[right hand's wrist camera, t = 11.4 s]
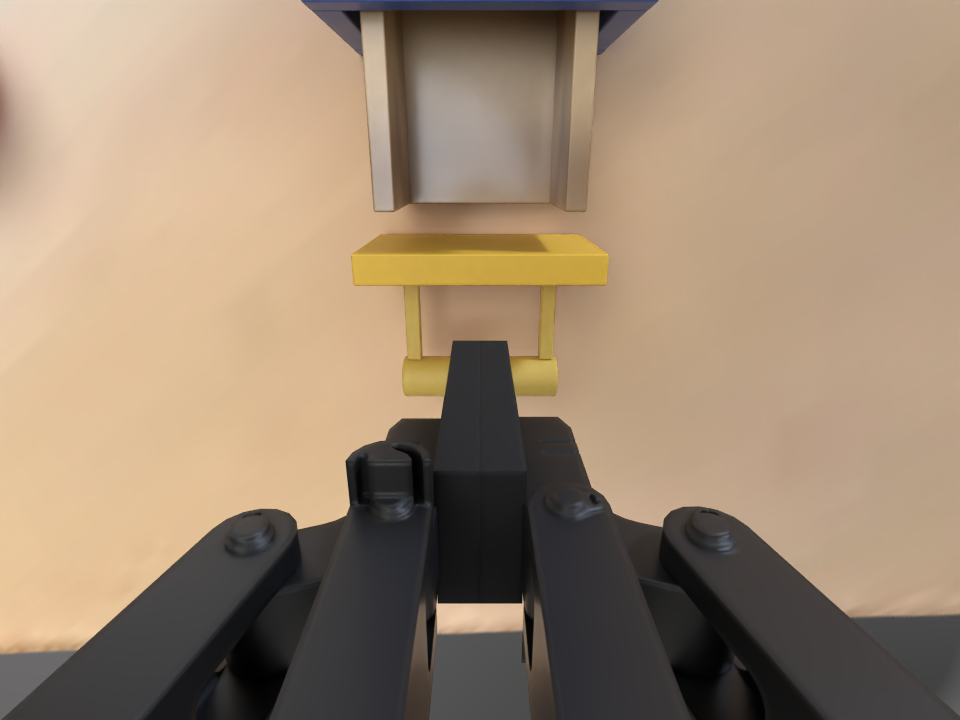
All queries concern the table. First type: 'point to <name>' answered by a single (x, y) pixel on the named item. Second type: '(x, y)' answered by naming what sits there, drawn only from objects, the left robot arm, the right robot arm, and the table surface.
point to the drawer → (479, 159)
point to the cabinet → (342, 5)
